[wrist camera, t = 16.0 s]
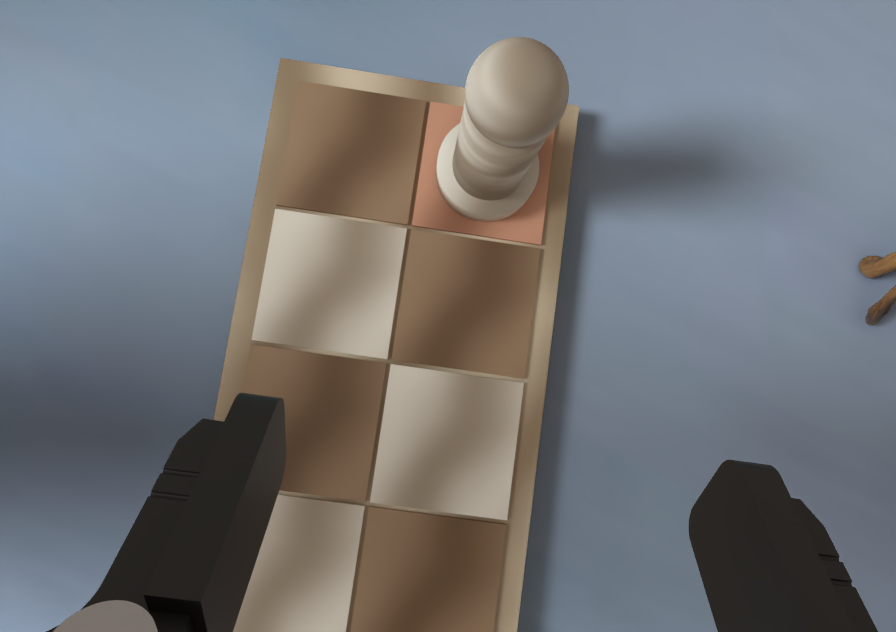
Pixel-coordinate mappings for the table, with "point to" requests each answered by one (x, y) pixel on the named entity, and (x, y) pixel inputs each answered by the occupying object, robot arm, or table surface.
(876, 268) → the lion figurine
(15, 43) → the table surface
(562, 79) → the pawn
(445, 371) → the board
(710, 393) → the table surface
